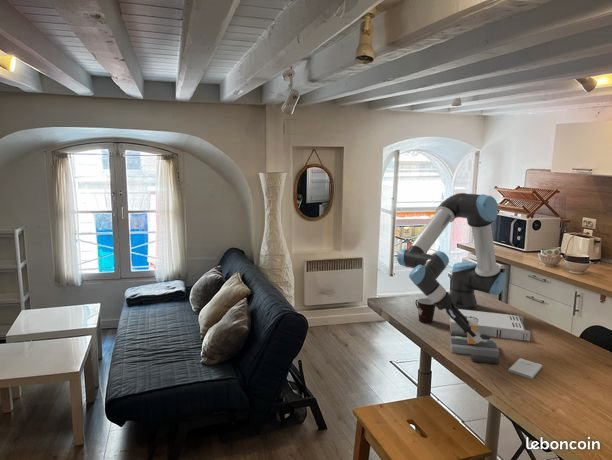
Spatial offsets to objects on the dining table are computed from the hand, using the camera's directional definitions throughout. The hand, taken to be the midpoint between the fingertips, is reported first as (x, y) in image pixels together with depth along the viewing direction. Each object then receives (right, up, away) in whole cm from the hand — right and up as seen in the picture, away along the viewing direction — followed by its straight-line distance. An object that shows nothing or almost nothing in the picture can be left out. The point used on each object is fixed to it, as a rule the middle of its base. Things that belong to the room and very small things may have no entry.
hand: (478, 338), depth 182 cm
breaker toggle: (-3, -2, +1) cm, 3 cm away
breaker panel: (-2, -5, +1) cm, 5 cm away
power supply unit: (+13, -1, +24) cm, 27 cm away
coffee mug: (-13, +1, +33) cm, 35 cm away
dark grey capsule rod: (-2, -7, -10) cm, 12 cm away
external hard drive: (+11, -8, -15) cm, 21 cm away
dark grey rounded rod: (+1, -3, +12) cm, 12 cm away
